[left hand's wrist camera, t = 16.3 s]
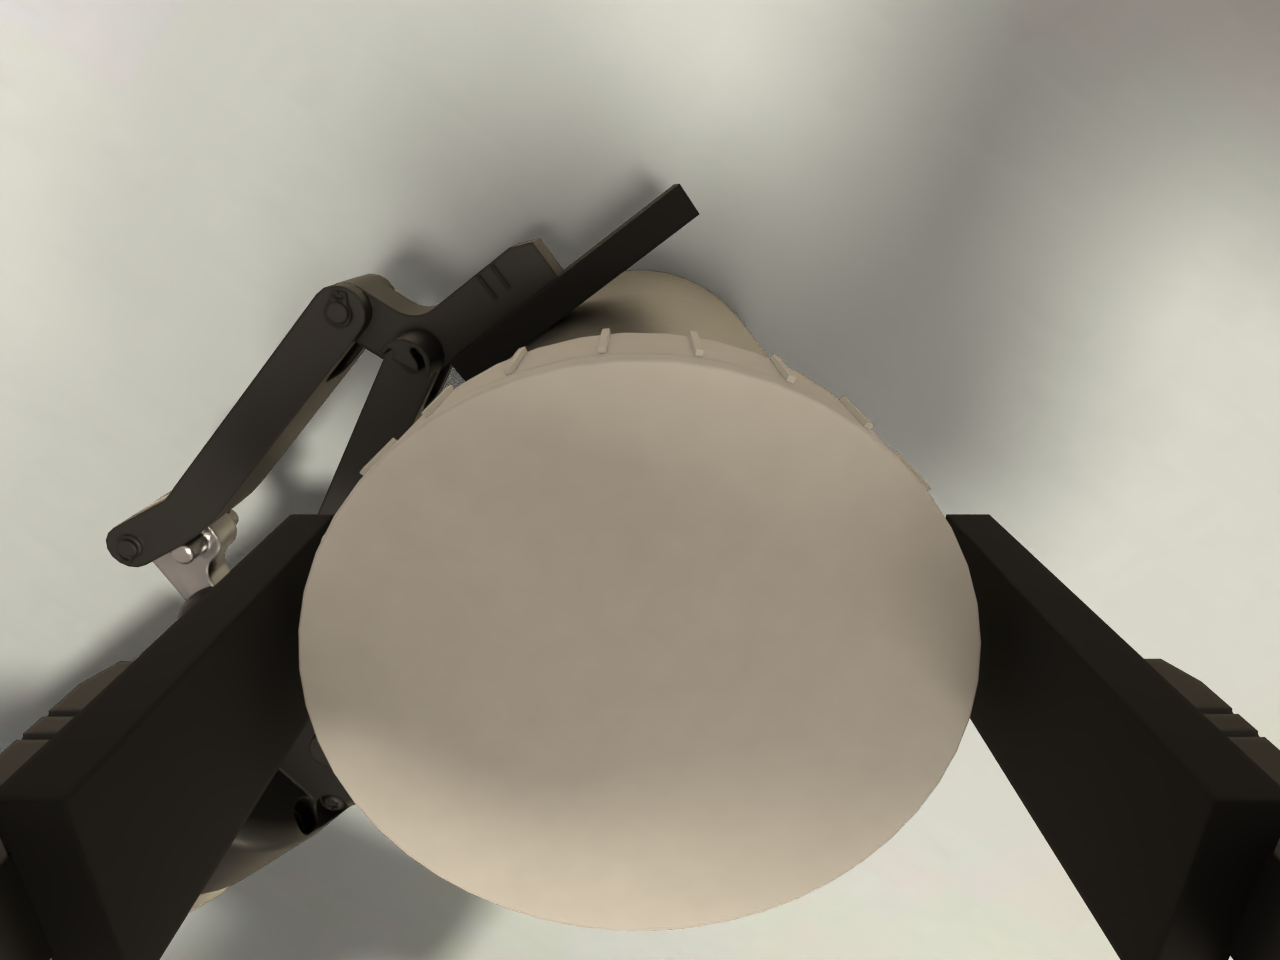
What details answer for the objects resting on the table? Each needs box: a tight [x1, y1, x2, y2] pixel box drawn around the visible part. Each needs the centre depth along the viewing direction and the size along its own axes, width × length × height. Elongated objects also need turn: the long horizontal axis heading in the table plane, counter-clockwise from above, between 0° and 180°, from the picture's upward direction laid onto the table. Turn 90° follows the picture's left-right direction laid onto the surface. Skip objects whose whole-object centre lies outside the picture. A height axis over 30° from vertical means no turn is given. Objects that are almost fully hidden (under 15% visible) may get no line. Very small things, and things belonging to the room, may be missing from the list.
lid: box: [298, 328, 981, 931], centre depth 11 cm, size 10×10×2 cm
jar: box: [511, 270, 769, 359], centre depth 18 cm, size 8×8×16 cm
